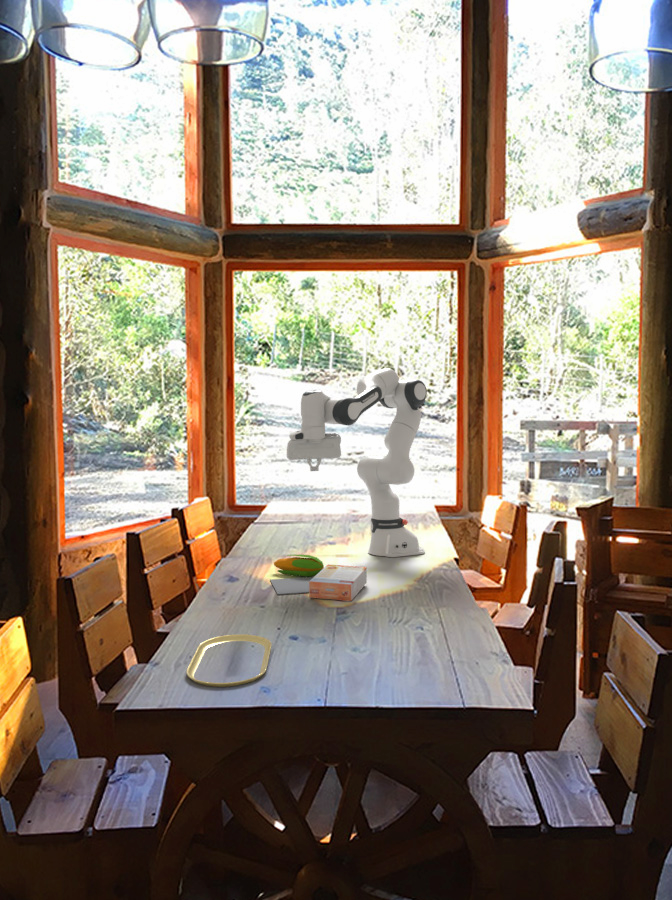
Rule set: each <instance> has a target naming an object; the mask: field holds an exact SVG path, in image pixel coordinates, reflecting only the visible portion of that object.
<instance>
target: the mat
mask: <svg viewBox="0 0 672 900" xmlns="http://www.w3.org/2000/svg"><path fill="white" fill-rule="evenodd" d="M313 577H314V576H313ZM313 577H288V578H274V579H269V581H270V583H271V585H272V587H273V589H274V591H275V592H276V594H277V596H286V595H300V594H301V595H302V594H303V595H304V594H310V592H309V581H310V580H311V579H312V578H313Z"/></svg>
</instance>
